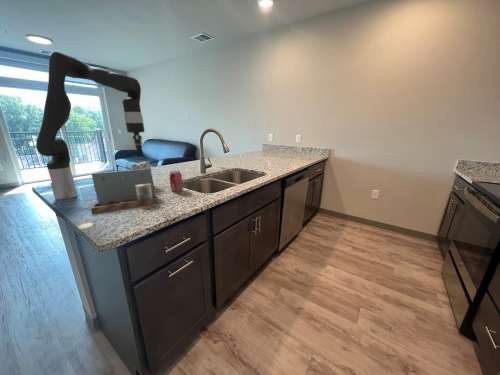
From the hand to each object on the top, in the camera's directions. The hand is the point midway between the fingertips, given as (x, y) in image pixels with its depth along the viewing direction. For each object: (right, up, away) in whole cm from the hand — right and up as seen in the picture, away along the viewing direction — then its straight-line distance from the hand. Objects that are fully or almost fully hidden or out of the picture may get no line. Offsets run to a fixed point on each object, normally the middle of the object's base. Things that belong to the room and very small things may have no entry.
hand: (140, 155), depth 104 cm
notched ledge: (-8, -26, +2) cm, 27 cm away
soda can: (+10, -18, +25) cm, 33 cm away
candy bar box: (-14, -16, +31) cm, 38 cm away
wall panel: (-13, -23, +11) cm, 28 cm away
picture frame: (0, -24, +5) cm, 25 cm away
